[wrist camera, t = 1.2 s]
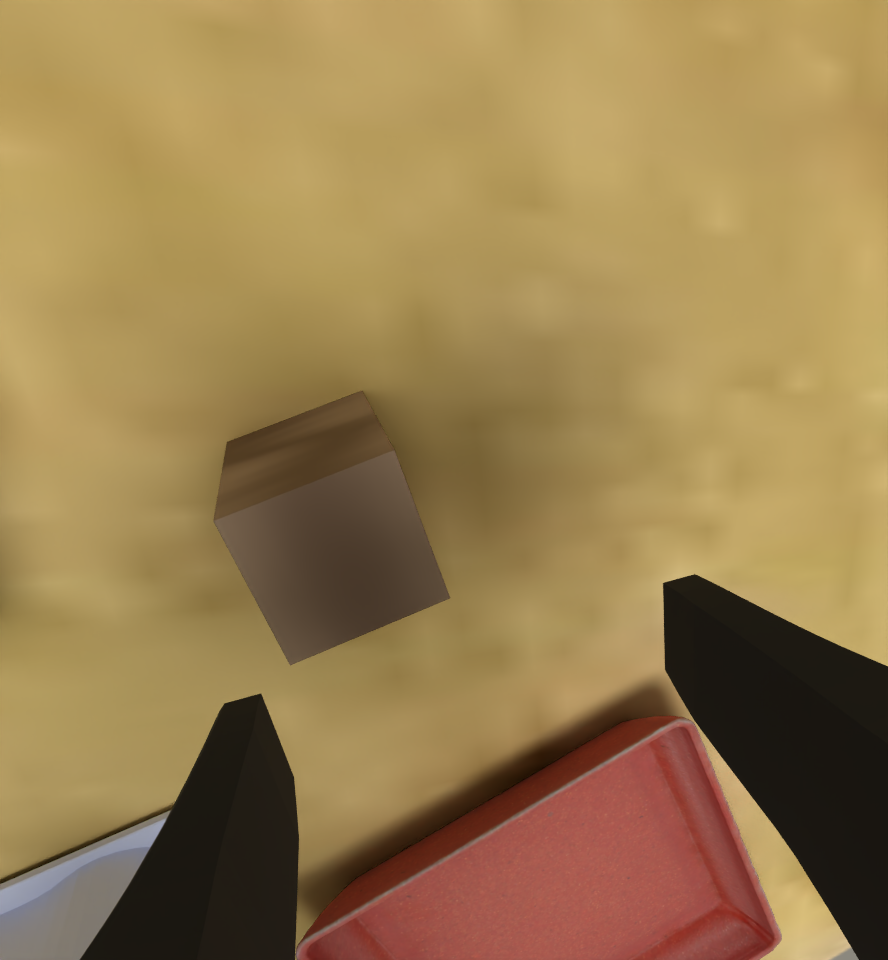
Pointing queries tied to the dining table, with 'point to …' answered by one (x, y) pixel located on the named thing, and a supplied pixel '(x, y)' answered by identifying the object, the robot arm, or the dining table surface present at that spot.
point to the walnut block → (325, 528)
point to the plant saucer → (570, 868)
